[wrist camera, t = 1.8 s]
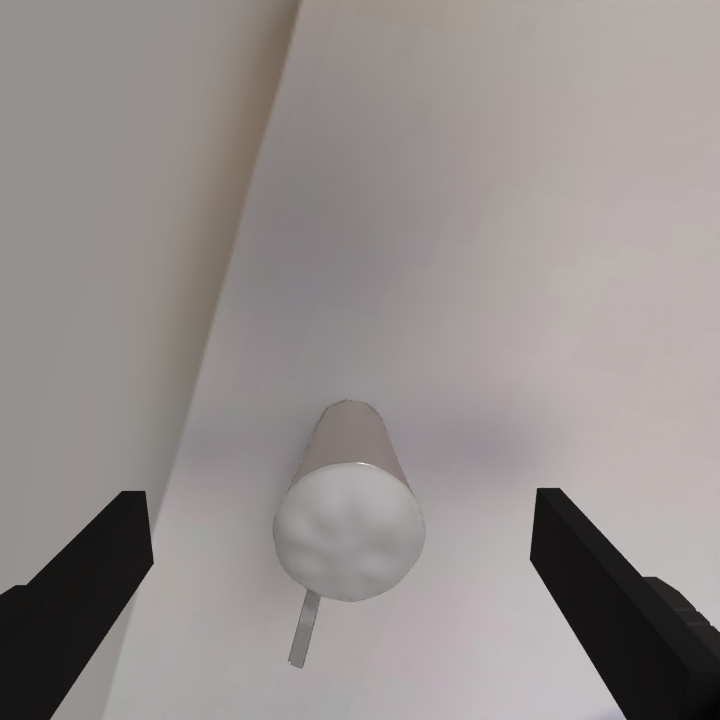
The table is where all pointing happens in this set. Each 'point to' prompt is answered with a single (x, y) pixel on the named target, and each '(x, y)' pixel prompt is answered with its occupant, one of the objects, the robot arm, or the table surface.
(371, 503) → the milkshake
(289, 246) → the table surface
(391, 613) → the table surface
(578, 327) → the table surface
